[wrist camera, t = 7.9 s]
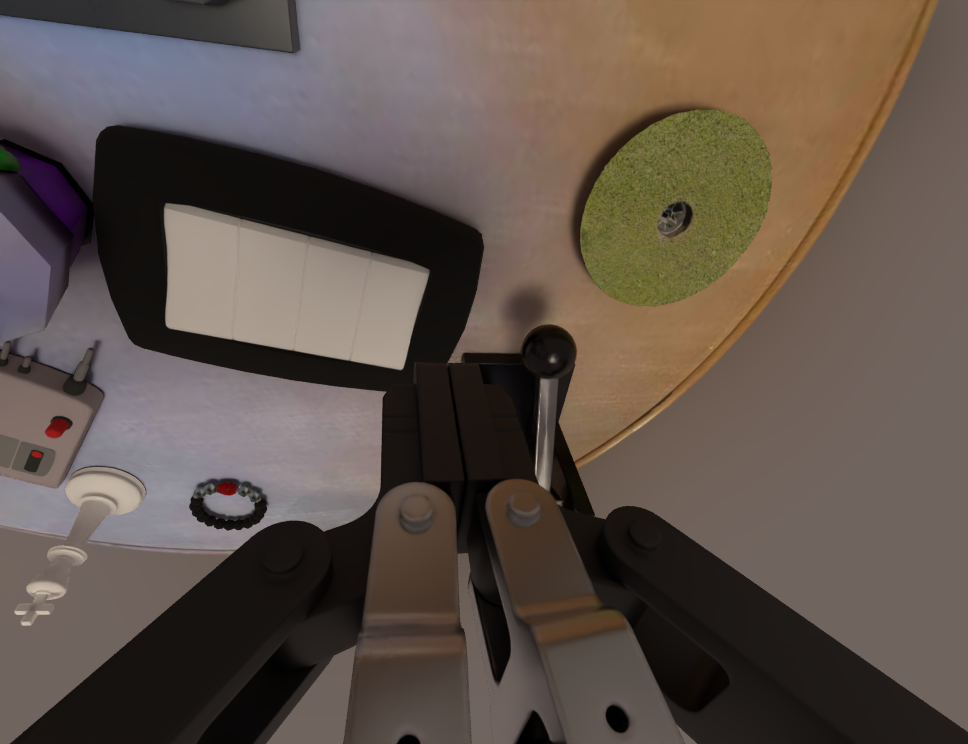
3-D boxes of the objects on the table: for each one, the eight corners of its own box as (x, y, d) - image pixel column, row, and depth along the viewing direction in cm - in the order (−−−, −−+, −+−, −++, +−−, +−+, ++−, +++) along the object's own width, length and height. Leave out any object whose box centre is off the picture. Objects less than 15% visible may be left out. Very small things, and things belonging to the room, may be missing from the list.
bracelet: (269, 482, 37) (267, 492, 36) (266, 524, 40) (264, 535, 40) (190, 476, 36) (185, 486, 35) (193, 520, 39) (189, 531, 38)
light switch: (106, 364, 27) (51, 109, 18) (129, 334, 29) (88, 92, 20) (436, 415, 33) (508, 241, 25) (434, 386, 35) (500, 217, 27)
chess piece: (149, 509, 37) (84, 641, 29) (76, 506, 36) (-14, 643, 28) (141, 468, 35) (67, 602, 27) (62, 463, 33) (-42, 602, 25)
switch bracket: (463, 352, 32) (488, 487, 23) (570, 354, 34) (635, 481, 25) (451, 452, 38) (468, 590, 29) (544, 449, 40) (588, 580, 31)
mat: (554, 290, 30) (562, 304, 29) (597, 92, 24) (611, 98, 22) (707, 294, 33) (722, 308, 31) (787, 114, 26) (811, 120, 24)
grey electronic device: (-60, 462, 32) (-96, 498, 29) (-11, 294, 25) (-52, 323, 23) (57, 493, 35) (33, 528, 32) (126, 350, 29) (102, 380, 26)
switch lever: (515, 321, 28) (531, 325, 25) (566, 323, 28) (587, 327, 25) (505, 524, 30) (518, 551, 27) (553, 521, 30) (570, 547, 27)
